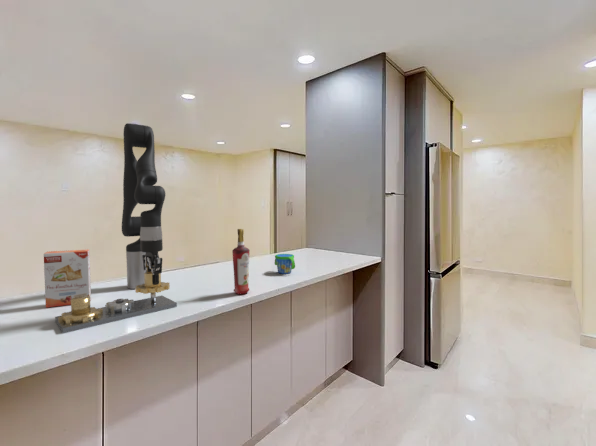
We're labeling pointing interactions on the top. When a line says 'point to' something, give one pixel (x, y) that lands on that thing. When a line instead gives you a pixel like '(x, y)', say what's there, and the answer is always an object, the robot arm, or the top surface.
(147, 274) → the gear
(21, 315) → the top surface
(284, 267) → the snack cup
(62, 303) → the cracker box
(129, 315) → the carrier plate
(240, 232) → the liquor
